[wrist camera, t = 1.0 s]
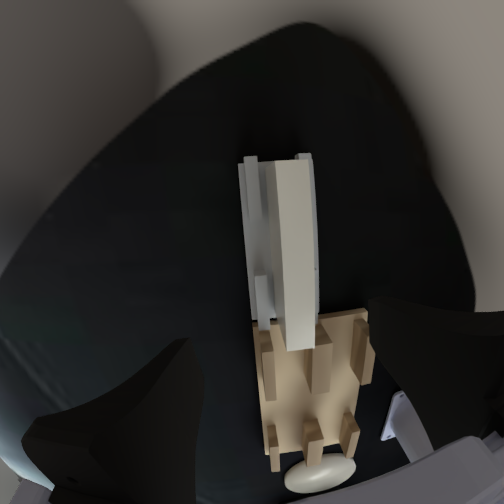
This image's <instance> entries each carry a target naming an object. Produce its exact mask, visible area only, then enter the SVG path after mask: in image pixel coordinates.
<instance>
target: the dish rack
mask: <svg viewBox="0 0 504 504" xmlns="http://www.w3.org/2000/svg"><path fill="white" fill-rule="evenodd" d="M367 316H368V311H367V310H366V309H365V308H360V309H353V310H347V311H341V312H334V313H327V314H320V315H318V324H315V348H309V349H302V350H295V351H286V348H285V344H284V341H283V337H282V334H281V331H280V327H279V324H278V320H272V321H270V330H261V331H259V327H258V322H252V325H253V335H254V345H255V356H256V366H257V376H258V386H259V396H260V406H261V416H262V426H263V436H264V445H265V455H270V463H271V471H272V472H276V471H280V460H279V453H286V452H293V451H299V450H303V455H304V459H305V463H306V467H310V466H315V465H320V464H321V458H322V452H323V446H327V445H332V444H336V443H340V445H341V448H342V450H343V453H344V456H345V458H346V459H347V458H351V457H353V456H354V452H355V449H356V445H357V441H358V437H359V434H360V429H359V427H358V425H357V423H356V421H355V419H354V413H355V408H356V402H357V396H358V390H359V384H361V385H365V384H369V383H371V377H372V371H373V365H374V358H375V352H374V350H373V348H372V346H371V344H370V342H369V324H368V323H367Z"/></svg>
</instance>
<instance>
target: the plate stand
mask: <svg viewBox="0 0 504 504" xmlns="http://www.w3.org/2000/svg"><path fill="white" fill-rule="evenodd" d="M303 159H308V163H309V175H310V188H311V203H312V220H313V240H314V270H315V324H318V312H319V266H318V236H317V215H316V198H315V184H314V171H313V159H311V153H299V154H297V155H295V160H303ZM273 162H274V161H268V162H258V161H257V156H247V157H244V163H242V164H238V171H239V182H240V194H241V205H242V216H243V228H244V239H245V250H246V261H247V272H248V282H249V293H250V304H251V314H252V320H258V327H259V331H261V330H270V318H277V317H276V314H275V305H274V289H273V274H272V259H271V245H270V232H269V219H268V206H267V193H266V181H265V170H264V169H265V168H267V167H268V166H269V165H270V164H272V163H273Z"/></svg>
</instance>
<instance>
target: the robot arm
mask: <svg viewBox="0 0 504 504" xmlns="http://www.w3.org/2000/svg"><path fill="white" fill-rule="evenodd" d="M368 307H369V342H370V344H371V346H372V348H373V350H374V352H375V354H376V355H377V357H378V359H379V360H380V362H381V363H382V364H383V366H384V367H385V368H386V370H387V371H388V372H389V374H390V375H391V376H392V377H393V379H394V380H395V381H396V383H397V384H398V385H399V387H400V388H401V389H402V391H399V392H396V393H395V394H394V395H393V397H392V401H391V404H390V408H389V411H388V415H387V418H386V421H385V425H384V428H383V431H382V434H381V437H380V438H381V440H387V439H390V438H392V437H395V436H396V438H397V439H398V441H399V443H400V444H401V446H402V448H403V450H404V451H405V453H406V455H407V457H408V458H409V460H410V462H411V463H410V464H408V465H405V466H403V467H401V468H399V469H396V470H394V471H391V472H389V473H387V474H384V475H381V476H379V477H376V478H373V479H371V480H368V481H365V482H362V483H359V484H356V485H353V486H350V487H347V488H343V489H340V490H336V491H333V492H329V493H325V494H321V495H317V496H313V497H308V498H305V499H302V500H298V501H295V502H291V503H287V504H504V311H498V312H461V311H451V310H444V309H439V308H433V307H429V306H424V305H420V304H416V303H412V302H408V301H404V300H400V299H396V298H392V297H387V296H379V297H375V298H372V299H368ZM203 399H204V376H203V374H202V371H201V368H200V365H199V362H198V360H197V357H196V354H195V351H194V348H193V345H192V342H191V339H190V338H183V339H176V340H174V341H173V342H172V343H170V344H169V345H168V346H167V347H166V348H165V349H163V350H162V351H161V352H160V353H159V354H158V355H157V356H156V357H155V358H153V359H152V360H151V361H150V362H149V363H148V364H147V365H145V366H144V367H143V368H142V369H141V370H139V371H138V372H137V373H136V374H134V375H133V376H132V377H131V378H129V379H128V380H126V381H125V382H124V383H122V384H120V385H119V386H117V387H116V388H114V389H113V390H111V391H109V392H107V393H105V394H103V395H102V396H100V397H98V398H96V399H94V400H92V401H90V402H87V403H85V404H82V405H80V406H77V407H75V408H72V409H69V410H66V411H63V412H59V413H55V414H51V415H47V416H42V417H37V418H36V419H35V420H34V422H33V423H32V425H31V426H30V427H29V429H28V430H27V432H26V433H25V434H24V436H23V437H22V440H21V443H22V446H23V449H24V451H25V453H26V455H27V456H28V457H29V459H30V460H31V461H32V462H33V463H34V464H35V465H36V467H37V468H38V469H39V470H40V471H41V472H42V473H43V474H44V475H45V476H46V477H47V478H48V479H49V480H50V481H51V482H52V483H53V484H54V485H55V487H54V489H53V491H51V490H49V489H48V488H46V487H44V486H42V485H39V484H37V483H34V482H32V481H30V480H27V479H22V481H21V483H20V485H19V487H18V488H17V490H16V492H15V494H14V496H13V498H12V500H11V502H10V503H9V504H196V494H195V449H196V441H197V435H198V429H199V423H200V417H201V412H202V406H203Z"/></svg>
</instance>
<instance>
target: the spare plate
mask: <svg viewBox="0 0 504 504" xmlns="http://www.w3.org/2000/svg"><path fill="white" fill-rule="evenodd" d="M355 468H356V465H355V462H354V460H353V458H352V457H351V458H347V459H346V458H345V456H344V454H343V453H330V454H323V455H322V458H321V464H320V465H315V466H310V467H306V463H305V460H304V461H302V462H300V463H298V464H296V465H295V466H293V467H292V468H290V469H289V470H288V471H287V473H286V474H285V477H284V480H285V485H286V487H287V488H288V489H289V490H291V491H294V492H298V493H313V492H319V491H323V490H327V489H330V488H332V487H335V486H337V485H339V484H341V483H342V482H344V481H345V480H347V479H348V478H349V477H350V476H351V475H352V474H353V473H354V471H355Z"/></svg>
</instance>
